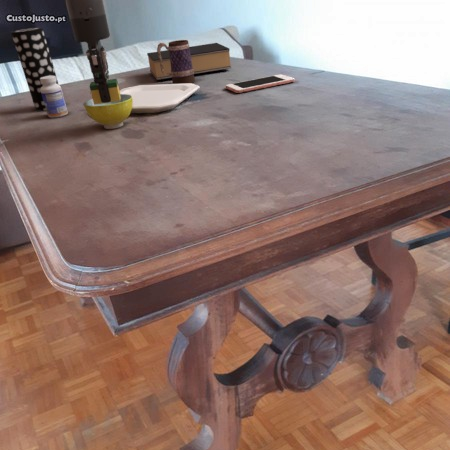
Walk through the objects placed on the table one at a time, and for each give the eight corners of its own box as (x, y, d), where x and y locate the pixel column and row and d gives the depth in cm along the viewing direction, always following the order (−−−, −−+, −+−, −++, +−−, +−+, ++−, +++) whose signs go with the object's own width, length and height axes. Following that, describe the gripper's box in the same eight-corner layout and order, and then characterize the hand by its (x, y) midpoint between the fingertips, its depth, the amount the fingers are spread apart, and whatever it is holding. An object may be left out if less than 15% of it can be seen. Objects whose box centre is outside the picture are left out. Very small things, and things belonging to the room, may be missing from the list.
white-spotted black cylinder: (32, 112, 136) (6, 33, 124) (40, 105, 143) (16, 29, 131) (60, 109, 136) (37, 29, 124) (67, 102, 143) (46, 26, 131)
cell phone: (295, 81, 133) (295, 78, 133) (237, 93, 129) (237, 90, 128) (280, 77, 140) (280, 73, 140) (225, 88, 136) (224, 84, 135)
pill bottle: (49, 114, 132) (38, 76, 126) (69, 111, 132) (58, 73, 127) (47, 119, 127) (35, 80, 122) (67, 116, 128) (56, 77, 122)
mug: (192, 79, 151) (187, 37, 144) (197, 83, 146) (191, 39, 139) (161, 84, 150) (154, 42, 143) (164, 88, 144) (157, 44, 137)
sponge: (94, 104, 108) (89, 85, 106) (95, 100, 111) (90, 82, 109) (120, 101, 108) (116, 82, 106) (120, 96, 112) (116, 78, 110)
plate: (129, 93, 144) (127, 85, 143) (205, 90, 136) (204, 82, 135) (86, 116, 125) (84, 108, 124) (172, 115, 118) (170, 106, 116)
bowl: (109, 118, 121) (103, 93, 118) (146, 120, 116) (141, 93, 113) (80, 132, 113) (73, 105, 110) (119, 134, 108) (112, 106, 105)
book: (150, 73, 167) (146, 53, 163) (218, 63, 171) (216, 42, 167) (157, 82, 153) (153, 60, 149) (231, 70, 157) (229, 48, 153)
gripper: (73, 14, 105) (93, 95, 115) (65, 19, 94) (88, 109, 104) (106, 9, 106) (123, 91, 116) (103, 14, 94) (122, 104, 104)
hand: (106, 99), depth 110 cm, fingers closed on sponge, 4 cm apart
